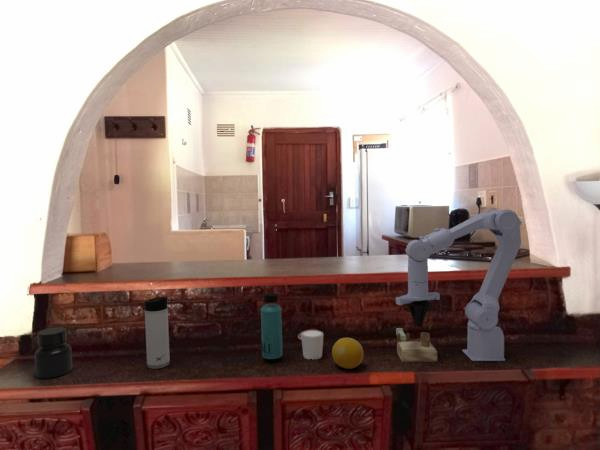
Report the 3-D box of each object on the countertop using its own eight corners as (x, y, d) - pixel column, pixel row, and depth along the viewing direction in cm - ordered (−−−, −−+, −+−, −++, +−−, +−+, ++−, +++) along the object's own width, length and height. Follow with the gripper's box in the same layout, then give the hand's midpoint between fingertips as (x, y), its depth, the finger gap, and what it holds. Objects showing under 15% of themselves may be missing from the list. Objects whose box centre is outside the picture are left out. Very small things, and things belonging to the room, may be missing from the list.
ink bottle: (77, 364, 118) (75, 324, 117) (69, 376, 109) (66, 334, 109) (40, 368, 115) (38, 327, 115) (28, 381, 107) (26, 337, 106)
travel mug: (163, 369, 113) (160, 300, 111) (142, 368, 114) (139, 299, 113) (174, 361, 119) (172, 295, 118) (154, 359, 120) (152, 294, 119)
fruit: (365, 362, 115) (364, 335, 115) (361, 374, 108) (361, 345, 107) (335, 359, 118) (334, 333, 117) (329, 371, 110) (329, 342, 109)
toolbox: (429, 351, 123) (429, 333, 122) (437, 361, 115) (437, 342, 114) (396, 351, 123) (396, 333, 122) (402, 362, 115) (402, 342, 115)
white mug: (324, 360, 117) (324, 337, 117) (301, 360, 118) (300, 337, 117) (323, 351, 124) (323, 329, 124) (301, 351, 124) (301, 329, 124)
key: (402, 334, 128) (402, 328, 128) (407, 341, 122) (407, 335, 121) (396, 334, 128) (396, 328, 128) (400, 341, 122) (400, 335, 122)
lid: (429, 343, 121) (429, 330, 121) (435, 351, 115) (435, 337, 115) (398, 343, 122) (398, 330, 121) (403, 351, 115) (403, 337, 115)
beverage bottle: (284, 355, 121) (283, 291, 120) (281, 364, 115) (280, 296, 113) (263, 355, 122) (262, 291, 121) (259, 364, 115) (257, 296, 114)
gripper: (428, 276, 124) (428, 318, 125) (389, 280, 119) (390, 325, 120) (444, 280, 118) (444, 325, 119) (404, 285, 112) (404, 332, 113)
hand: (418, 325), depth 119 cm, fingers closed
